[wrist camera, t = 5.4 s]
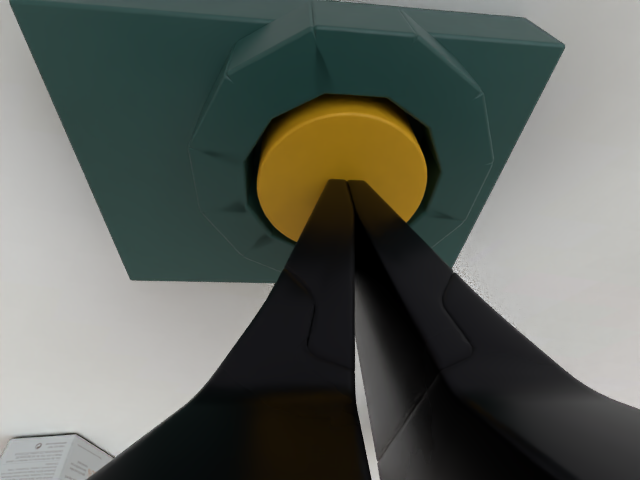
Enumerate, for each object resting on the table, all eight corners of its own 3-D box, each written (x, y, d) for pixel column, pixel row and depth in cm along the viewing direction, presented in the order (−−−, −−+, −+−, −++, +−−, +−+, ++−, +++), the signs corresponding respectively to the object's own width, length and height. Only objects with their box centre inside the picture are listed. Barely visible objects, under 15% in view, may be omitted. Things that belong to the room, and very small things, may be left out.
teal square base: (429, 247, 16) (456, 326, 14) (146, 239, 15) (112, 323, 12) (535, -3, 10) (631, 51, 7) (47, -48, 9) (-74, -7, 6)
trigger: (393, 212, 12) (404, 253, 10) (263, 207, 11) (258, 249, 10) (430, 83, 9) (452, 119, 8) (259, 71, 8) (252, 107, 7)
